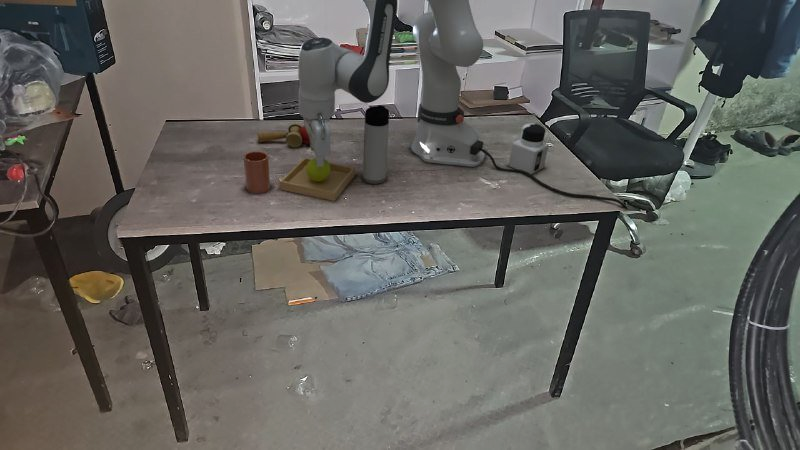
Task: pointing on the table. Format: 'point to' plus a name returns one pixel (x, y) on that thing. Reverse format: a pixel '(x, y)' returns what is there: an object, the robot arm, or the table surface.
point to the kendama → (287, 135)
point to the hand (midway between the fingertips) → (316, 157)
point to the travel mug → (375, 144)
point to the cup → (257, 172)
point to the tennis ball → (318, 170)
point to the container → (529, 149)
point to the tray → (324, 189)
